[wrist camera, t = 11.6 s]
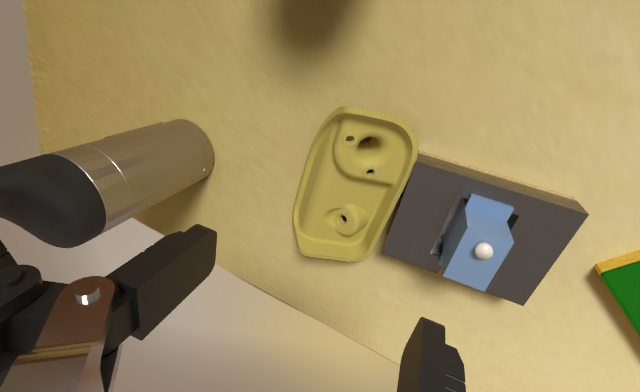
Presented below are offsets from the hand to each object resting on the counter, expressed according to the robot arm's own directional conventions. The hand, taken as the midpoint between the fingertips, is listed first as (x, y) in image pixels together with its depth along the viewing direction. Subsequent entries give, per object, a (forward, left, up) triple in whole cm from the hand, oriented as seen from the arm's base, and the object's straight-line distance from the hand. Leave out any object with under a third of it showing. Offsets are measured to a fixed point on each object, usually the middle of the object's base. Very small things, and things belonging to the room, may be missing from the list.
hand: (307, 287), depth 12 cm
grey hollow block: (+11, -8, -28) cm, 31 cm away
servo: (+11, -8, -27) cm, 30 cm away
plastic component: (-3, -8, -28) cm, 30 cm away
